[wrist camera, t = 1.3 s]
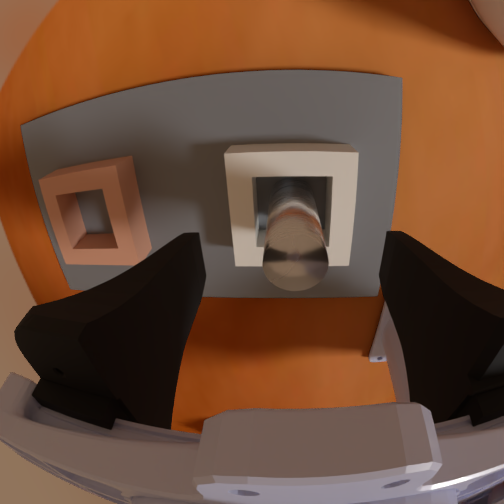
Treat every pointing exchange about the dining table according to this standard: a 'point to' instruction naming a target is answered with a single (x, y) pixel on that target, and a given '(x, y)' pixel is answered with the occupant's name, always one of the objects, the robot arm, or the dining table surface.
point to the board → (213, 164)
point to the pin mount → (291, 164)
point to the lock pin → (294, 238)
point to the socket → (118, 205)
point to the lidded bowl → (491, 16)
